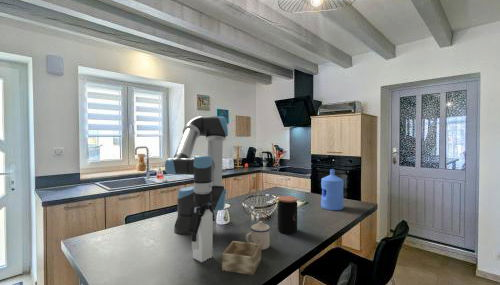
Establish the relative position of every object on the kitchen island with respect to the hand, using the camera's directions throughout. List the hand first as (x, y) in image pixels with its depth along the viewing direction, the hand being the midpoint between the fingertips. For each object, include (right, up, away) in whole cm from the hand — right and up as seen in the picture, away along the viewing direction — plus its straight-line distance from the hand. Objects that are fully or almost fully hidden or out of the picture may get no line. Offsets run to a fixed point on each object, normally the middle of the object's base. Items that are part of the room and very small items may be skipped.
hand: (202, 241), depth 108 cm
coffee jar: (+41, -6, +32) cm, 52 cm away
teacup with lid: (+24, -7, +11) cm, 27 cm away
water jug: (+80, -6, +78) cm, 112 cm away
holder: (+17, -7, -5) cm, 19 cm away
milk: (0, -7, 0) cm, 7 cm away
